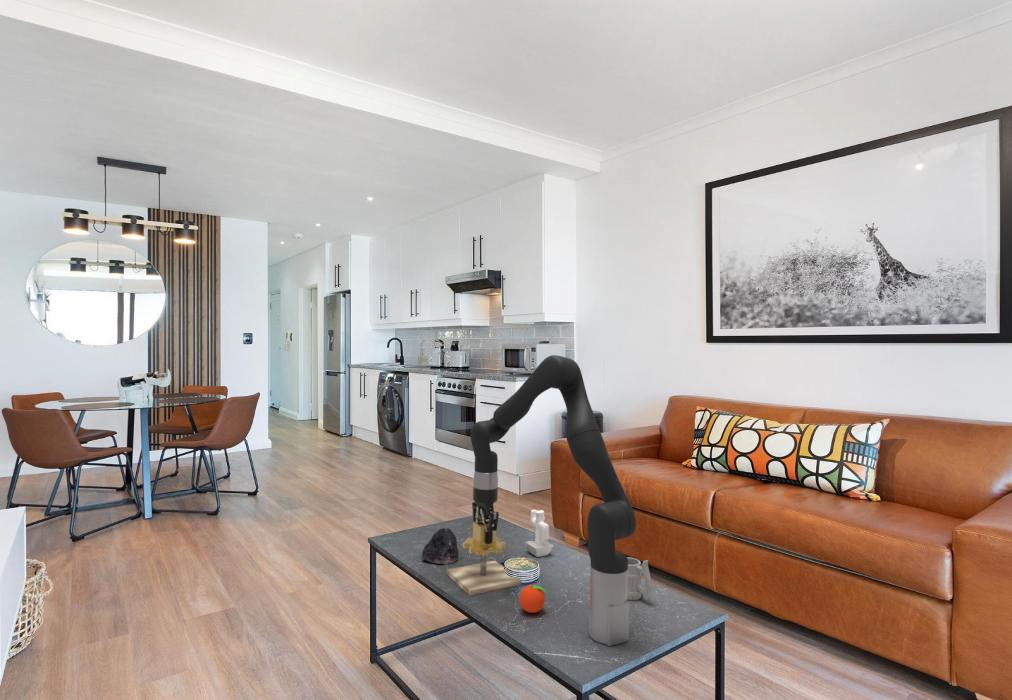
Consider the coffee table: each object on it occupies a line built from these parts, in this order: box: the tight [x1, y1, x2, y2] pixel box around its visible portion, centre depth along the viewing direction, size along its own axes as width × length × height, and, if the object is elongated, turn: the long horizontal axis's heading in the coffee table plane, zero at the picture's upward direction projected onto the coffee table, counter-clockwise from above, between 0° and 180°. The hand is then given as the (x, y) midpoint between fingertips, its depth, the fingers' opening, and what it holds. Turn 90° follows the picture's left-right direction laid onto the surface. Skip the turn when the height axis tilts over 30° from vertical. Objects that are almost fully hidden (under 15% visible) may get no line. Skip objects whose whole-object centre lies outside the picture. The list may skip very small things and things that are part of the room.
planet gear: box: [462, 519, 507, 556], centre depth 175 cm, size 12×12×8 cm
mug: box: [627, 557, 653, 601], centre depth 165 cm, size 8×12×12 cm, turn 37°
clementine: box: [519, 584, 549, 614], centre depth 155 cm, size 8×7×7 cm
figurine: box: [524, 509, 554, 558], centre depth 198 cm, size 7×9×15 cm
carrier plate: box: [446, 554, 522, 596], centre depth 175 cm, size 17×17×8 cm
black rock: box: [421, 527, 459, 565], centre depth 192 cm, size 13×14×10 cm
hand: (484, 540), depth 175 cm, fingers closed on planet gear, 5 cm apart
